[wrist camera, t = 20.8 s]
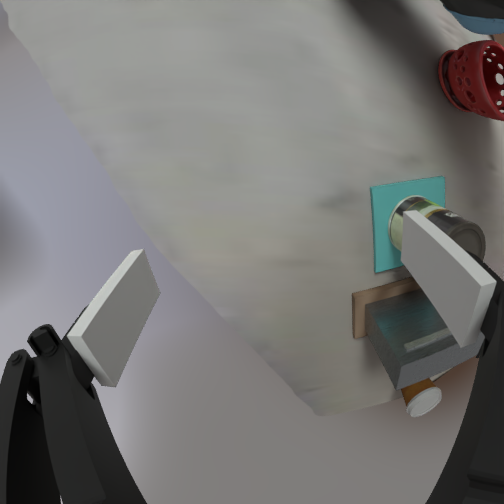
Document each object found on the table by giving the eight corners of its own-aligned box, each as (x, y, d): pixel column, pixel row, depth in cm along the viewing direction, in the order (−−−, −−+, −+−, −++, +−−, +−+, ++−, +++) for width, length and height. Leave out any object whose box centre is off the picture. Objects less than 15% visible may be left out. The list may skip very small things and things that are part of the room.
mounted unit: (454, 263, 48) (507, 310, 32) (448, 303, 52) (491, 352, 36) (352, 293, 49) (390, 361, 33) (352, 334, 53) (383, 401, 37)
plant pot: (445, 122, 37) (493, 128, 26) (421, 50, 32) (466, 38, 21) (487, 111, 35) (531, 116, 24) (467, 46, 30) (510, 40, 19)
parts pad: (442, 176, 41) (444, 176, 40) (440, 252, 47) (442, 254, 46) (369, 187, 41) (372, 188, 41) (374, 270, 48) (375, 272, 47)
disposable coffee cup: (411, 354, 58) (433, 389, 47) (429, 363, 60) (448, 395, 49) (384, 379, 61) (401, 416, 50) (403, 387, 63) (419, 419, 52)
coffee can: (406, 183, 40) (461, 208, 28) (443, 212, 43) (494, 243, 30) (376, 237, 44) (419, 279, 31) (415, 260, 46) (458, 302, 33)
